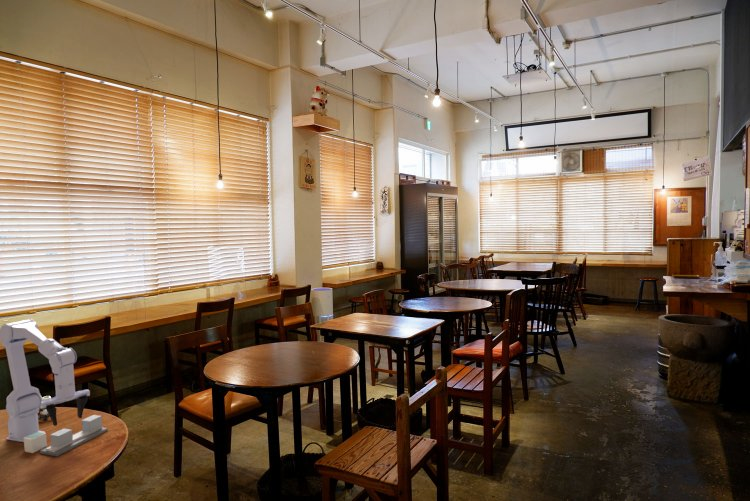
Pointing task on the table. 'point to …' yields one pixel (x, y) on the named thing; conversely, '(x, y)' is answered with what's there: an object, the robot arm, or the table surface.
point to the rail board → (74, 436)
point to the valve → (44, 410)
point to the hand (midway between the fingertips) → (67, 421)
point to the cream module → (35, 442)
